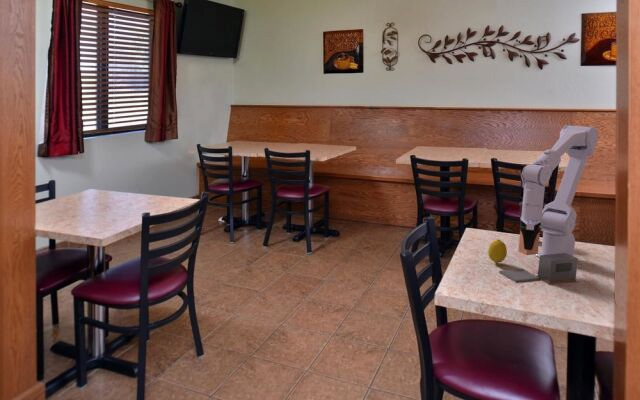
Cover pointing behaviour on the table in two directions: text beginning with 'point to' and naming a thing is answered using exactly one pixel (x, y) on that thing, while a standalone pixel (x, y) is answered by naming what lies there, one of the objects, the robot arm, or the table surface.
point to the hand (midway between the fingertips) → (528, 246)
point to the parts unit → (557, 268)
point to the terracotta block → (534, 249)
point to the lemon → (497, 251)
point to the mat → (519, 275)
